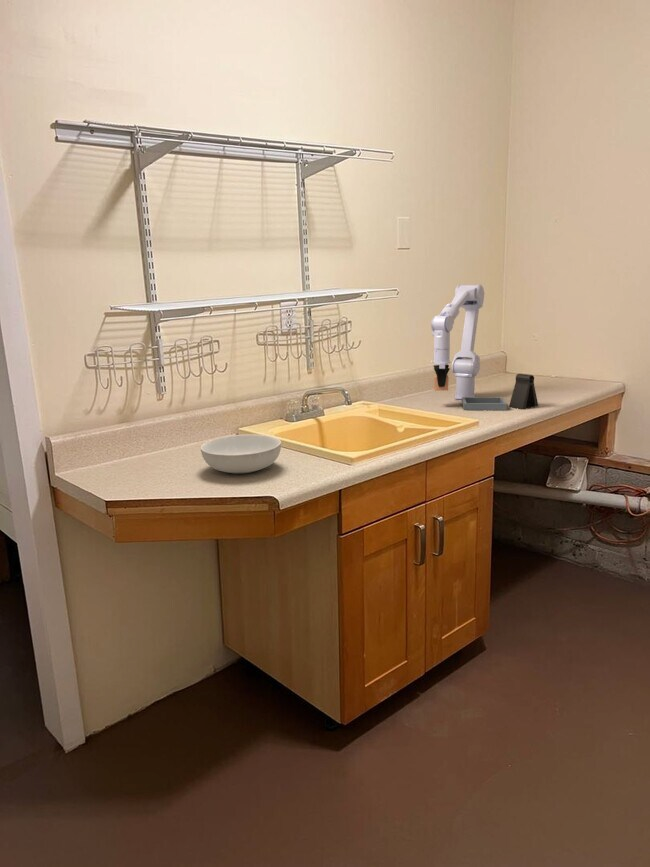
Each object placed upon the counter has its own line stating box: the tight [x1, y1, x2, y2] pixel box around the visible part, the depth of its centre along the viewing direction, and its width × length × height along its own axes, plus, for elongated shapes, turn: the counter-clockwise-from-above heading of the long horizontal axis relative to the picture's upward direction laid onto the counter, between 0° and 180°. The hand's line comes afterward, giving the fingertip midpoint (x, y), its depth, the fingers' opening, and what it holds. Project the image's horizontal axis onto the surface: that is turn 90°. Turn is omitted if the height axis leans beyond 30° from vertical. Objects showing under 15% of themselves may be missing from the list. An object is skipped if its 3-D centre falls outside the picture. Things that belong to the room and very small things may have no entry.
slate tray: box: [461, 396, 508, 412], centre depth 243 cm, size 13×15×2 cm
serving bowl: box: [200, 433, 282, 474], centre depth 172 cm, size 21×21×7 cm
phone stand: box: [508, 373, 539, 410], centre depth 240 cm, size 9×6×12 cm, turn 124°
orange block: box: [433, 374, 449, 392], centre depth 243 cm, size 5×5×5 cm
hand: (441, 385), depth 244 cm, fingers closed on orange block, 5 cm apart
